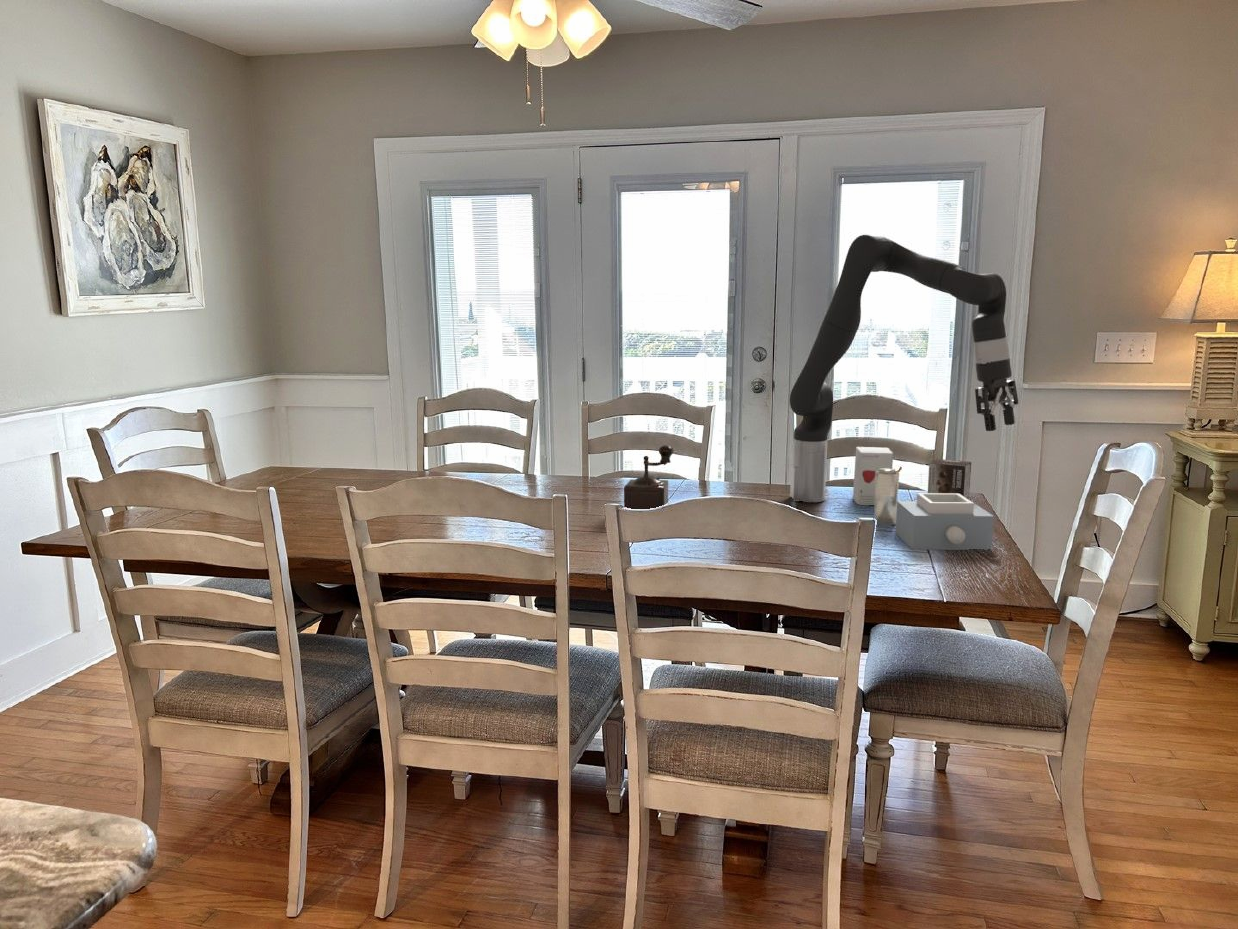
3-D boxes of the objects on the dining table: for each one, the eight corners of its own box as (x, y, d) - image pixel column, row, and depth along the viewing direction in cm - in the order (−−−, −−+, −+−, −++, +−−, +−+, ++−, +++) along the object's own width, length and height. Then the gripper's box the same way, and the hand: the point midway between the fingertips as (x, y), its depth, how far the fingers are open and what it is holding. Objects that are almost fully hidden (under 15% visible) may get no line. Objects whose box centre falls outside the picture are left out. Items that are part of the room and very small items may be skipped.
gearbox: (916, 553, 207) (919, 508, 205) (895, 533, 224) (898, 491, 222) (996, 554, 207) (1000, 508, 205) (969, 533, 224) (972, 491, 222)
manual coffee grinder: (665, 525, 232) (666, 454, 228) (622, 522, 234) (623, 453, 230) (673, 510, 247) (674, 444, 243) (633, 508, 249) (633, 442, 245)
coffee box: (967, 524, 233) (972, 461, 229) (961, 529, 227) (966, 465, 224) (931, 519, 238) (935, 457, 234) (924, 524, 232) (928, 461, 229)
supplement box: (856, 505, 252) (859, 452, 249) (852, 498, 260) (855, 446, 257) (890, 506, 251) (893, 452, 248) (885, 499, 259) (888, 446, 256)
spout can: (884, 526, 230) (887, 470, 227) (868, 521, 235) (871, 466, 232) (906, 522, 234) (909, 467, 231) (889, 518, 238) (893, 464, 236)
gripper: (993, 357, 222) (1001, 423, 224) (961, 364, 213) (969, 433, 215) (1023, 354, 216) (1031, 422, 218) (991, 361, 207) (999, 432, 209)
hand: (1000, 427), depth 216 cm, fingers open, 8 cm apart
